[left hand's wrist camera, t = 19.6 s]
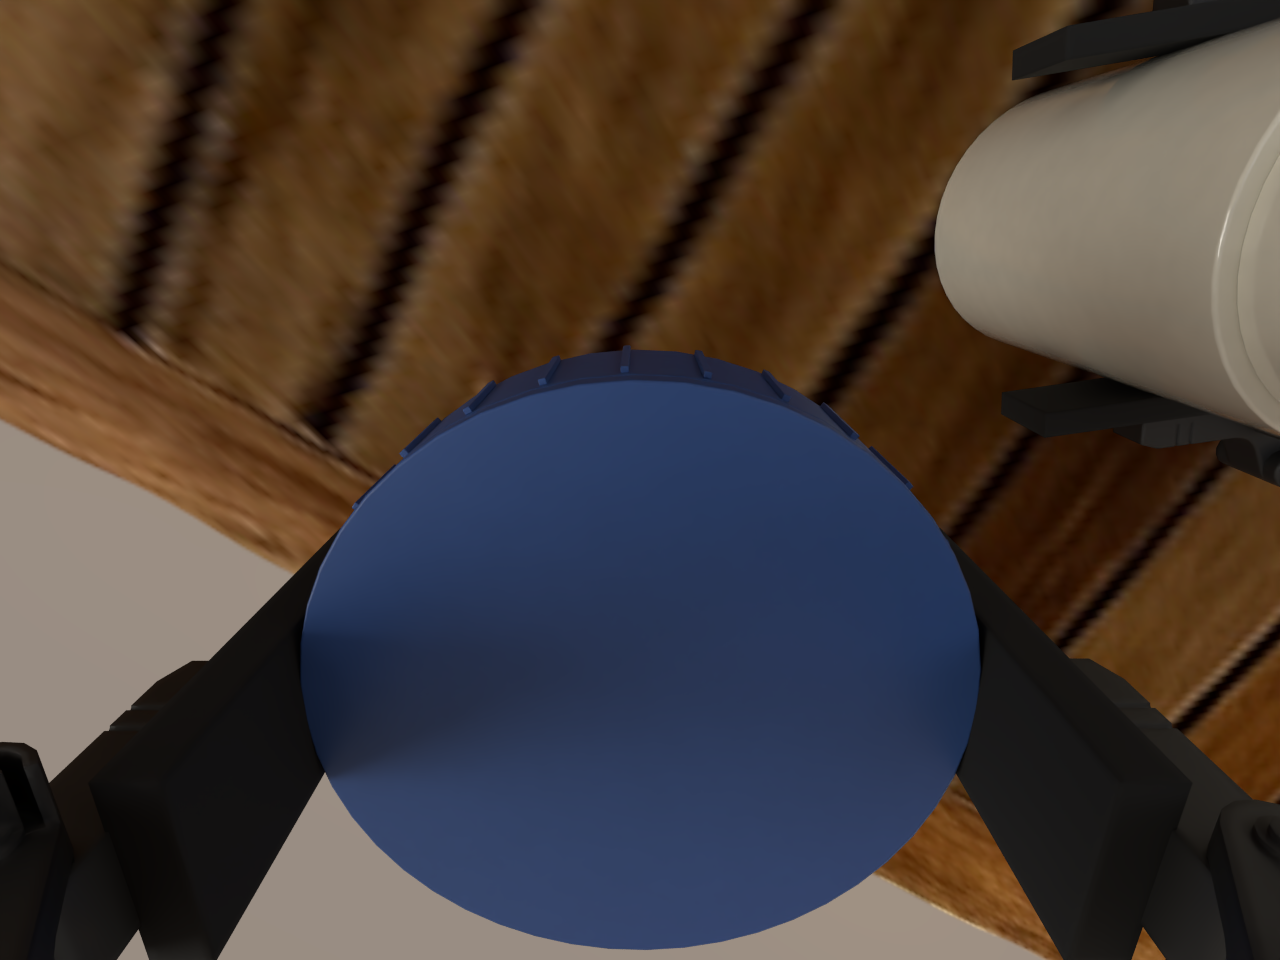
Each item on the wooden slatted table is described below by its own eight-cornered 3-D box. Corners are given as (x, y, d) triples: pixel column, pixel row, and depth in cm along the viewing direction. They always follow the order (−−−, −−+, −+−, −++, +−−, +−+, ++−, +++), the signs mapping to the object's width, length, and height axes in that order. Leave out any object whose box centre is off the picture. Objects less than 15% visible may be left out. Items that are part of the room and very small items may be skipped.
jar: (943, 96, 25) (1405, -92, 10) (1208, 74, 25) (2100, -154, 10) (925, 354, 28) (1250, 510, 13) (1159, 337, 28) (1765, 477, 13)
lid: (734, 908, 15) (750, 1023, 13) (276, 720, 13) (204, 818, 11) (1046, 527, 12) (1138, 595, 10) (501, 219, 10) (463, 218, 8)
